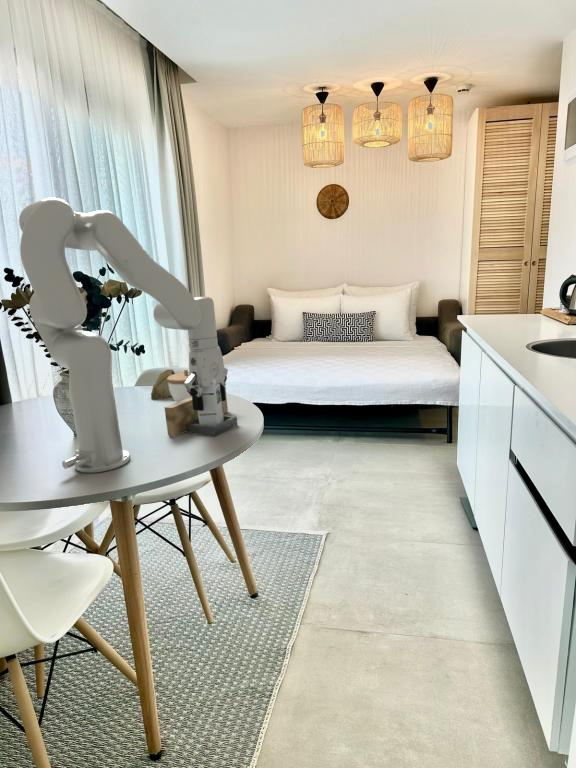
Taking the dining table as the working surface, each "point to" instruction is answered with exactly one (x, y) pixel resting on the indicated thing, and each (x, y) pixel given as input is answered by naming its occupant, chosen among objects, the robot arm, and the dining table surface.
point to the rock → (162, 385)
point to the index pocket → (212, 430)
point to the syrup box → (211, 405)
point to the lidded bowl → (178, 386)
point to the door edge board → (183, 415)
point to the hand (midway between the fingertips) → (210, 405)
